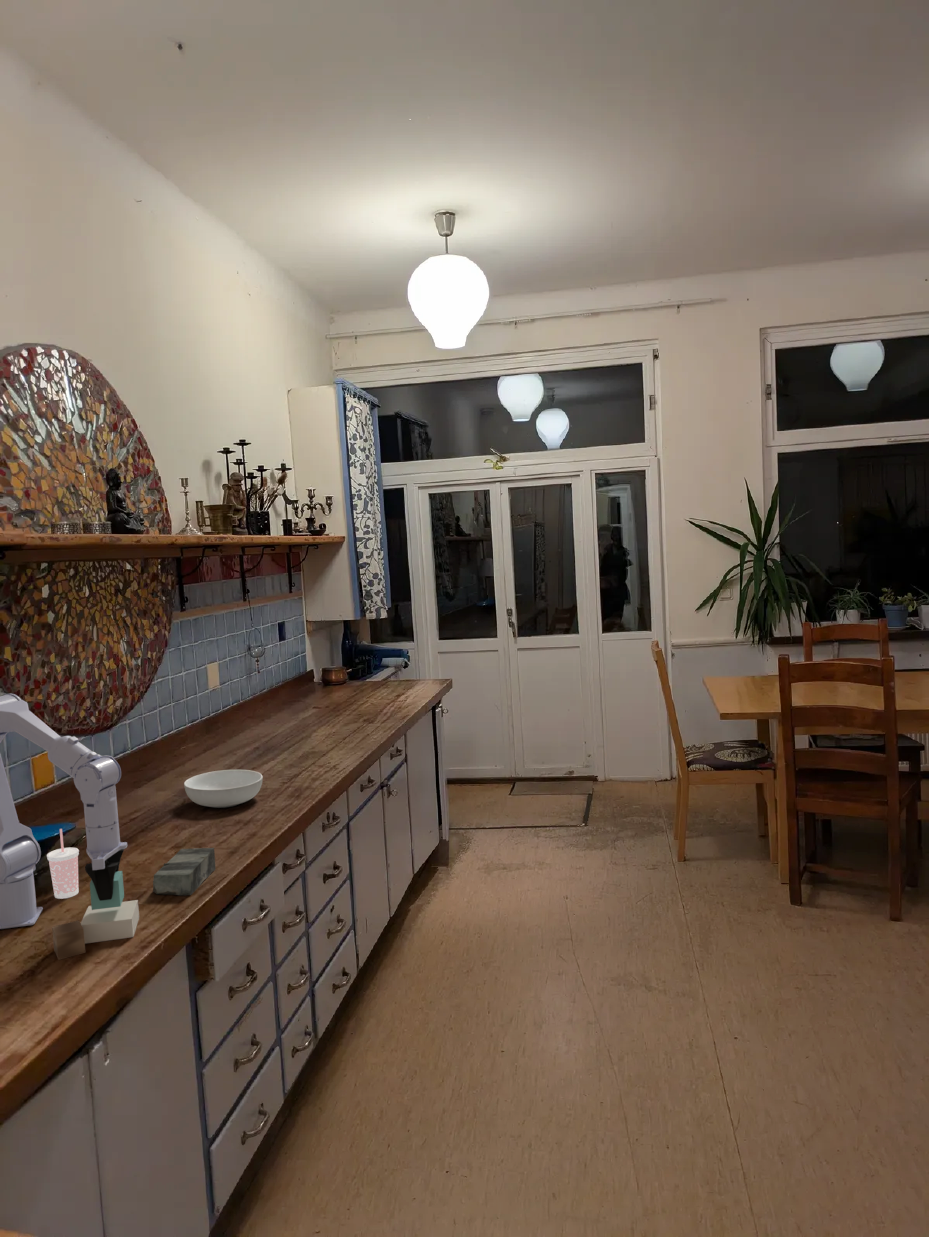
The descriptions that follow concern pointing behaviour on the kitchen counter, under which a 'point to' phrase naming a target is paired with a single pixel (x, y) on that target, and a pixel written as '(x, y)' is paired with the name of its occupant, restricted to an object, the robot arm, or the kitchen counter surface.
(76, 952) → the walnut cube
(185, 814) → the kitchen counter surface
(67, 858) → the beverage cup
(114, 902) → the teal cube
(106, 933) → the ceramic base
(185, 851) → the stone block
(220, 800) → the serving bowl
